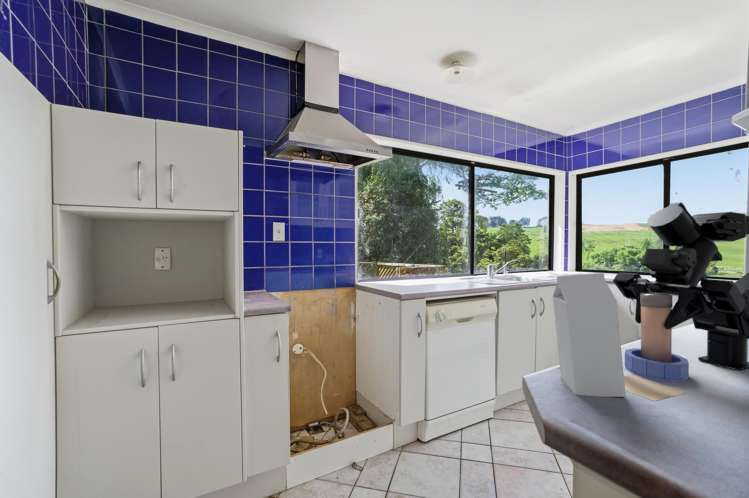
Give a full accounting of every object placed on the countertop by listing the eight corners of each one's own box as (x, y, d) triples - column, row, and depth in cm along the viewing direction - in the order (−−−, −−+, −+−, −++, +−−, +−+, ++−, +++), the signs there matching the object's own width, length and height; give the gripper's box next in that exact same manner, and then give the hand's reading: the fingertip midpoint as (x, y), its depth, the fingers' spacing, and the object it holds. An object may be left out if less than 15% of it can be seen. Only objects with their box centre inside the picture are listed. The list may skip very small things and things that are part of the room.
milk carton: (626, 397, 52) (614, 274, 53) (575, 398, 54) (564, 278, 54) (605, 379, 59) (594, 271, 59) (560, 380, 61) (550, 274, 61)
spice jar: (650, 353, 66) (650, 292, 66) (678, 361, 62) (678, 295, 62) (634, 356, 65) (634, 293, 64) (662, 364, 60) (662, 297, 60)
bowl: (644, 363, 69) (644, 346, 69) (699, 380, 61) (699, 360, 61) (613, 369, 66) (614, 351, 66) (668, 388, 58) (668, 367, 57)
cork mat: (632, 378, 62) (632, 374, 62) (685, 396, 54) (685, 392, 54) (601, 384, 59) (601, 381, 59) (653, 405, 52) (653, 401, 51)
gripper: (618, 234, 73) (581, 289, 69) (736, 231, 56) (695, 304, 52) (642, 270, 76) (608, 324, 72) (761, 277, 59) (724, 349, 55)
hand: (651, 324), depth 63 cm, fingers closed on spice jar, 4 cm apart
